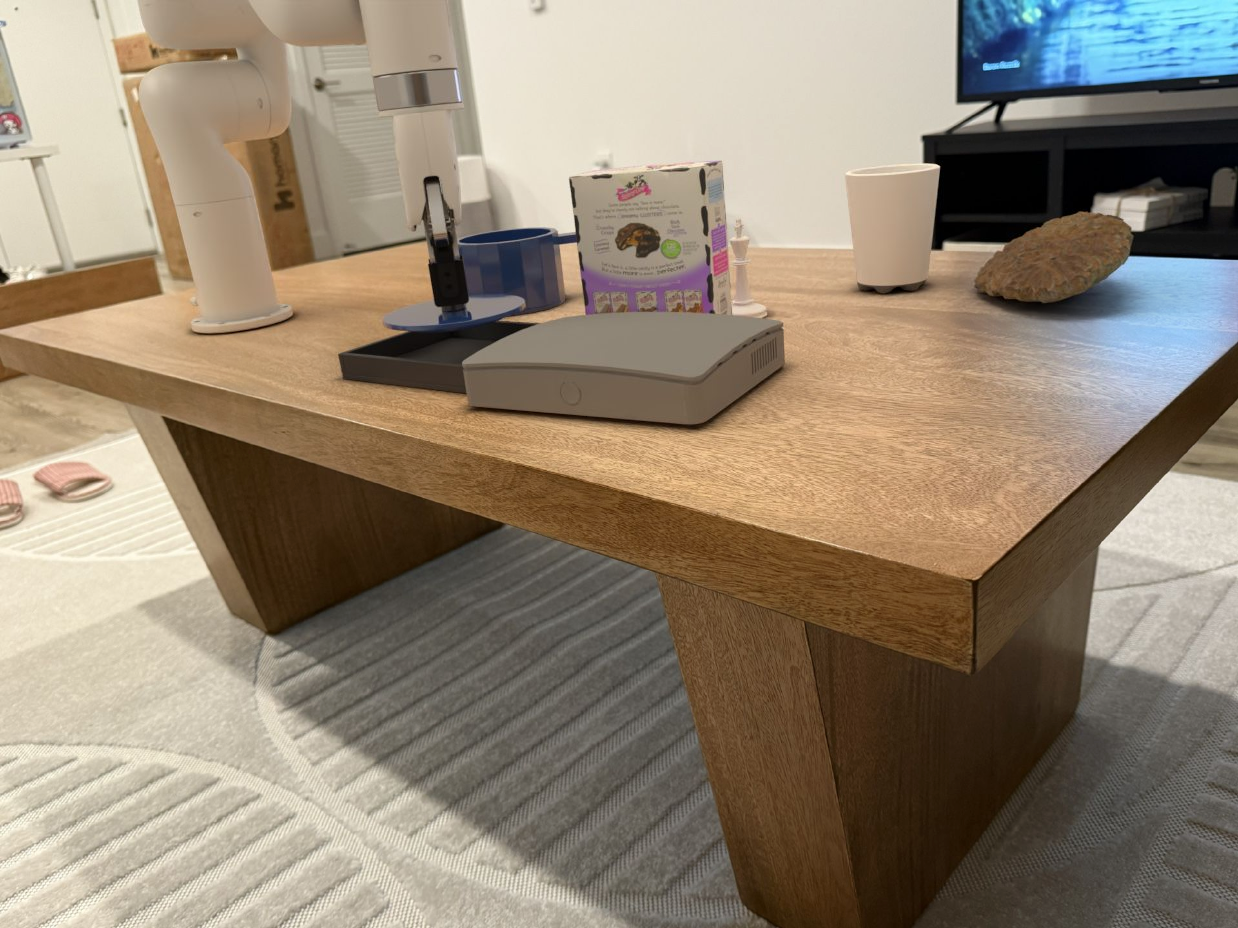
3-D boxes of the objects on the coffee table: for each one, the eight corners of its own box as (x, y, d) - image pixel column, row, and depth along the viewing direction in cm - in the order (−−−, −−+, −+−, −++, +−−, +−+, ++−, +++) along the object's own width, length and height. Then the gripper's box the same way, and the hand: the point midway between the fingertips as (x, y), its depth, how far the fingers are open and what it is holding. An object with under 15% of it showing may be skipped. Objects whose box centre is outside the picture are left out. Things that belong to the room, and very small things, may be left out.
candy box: (735, 330, 98) (725, 158, 92) (715, 345, 93) (703, 164, 87) (610, 329, 104) (594, 167, 98) (585, 343, 99) (566, 174, 93)
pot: (441, 305, 126) (430, 238, 123) (579, 287, 129) (572, 221, 126) (441, 325, 115) (429, 251, 112) (593, 305, 117) (585, 232, 114)
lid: (387, 316, 100) (376, 256, 98) (521, 299, 101) (512, 239, 99) (380, 345, 87) (367, 276, 85) (532, 324, 89) (523, 256, 87)
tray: (342, 378, 95) (337, 353, 94) (452, 340, 106) (449, 317, 106) (472, 394, 85) (468, 366, 84) (578, 350, 97) (575, 325, 96)
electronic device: (585, 350, 96) (579, 299, 95) (796, 360, 85) (794, 303, 84) (462, 409, 81) (453, 350, 79) (700, 430, 70) (695, 362, 68)
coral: (990, 260, 109) (1105, 162, 99) (1045, 323, 108) (1167, 230, 98) (925, 299, 96) (1051, 189, 85) (988, 371, 94) (1123, 268, 84)
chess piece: (714, 321, 102) (708, 224, 99) (727, 311, 107) (722, 216, 103) (760, 321, 100) (755, 221, 97) (772, 310, 105) (768, 214, 101)
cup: (950, 291, 105) (952, 167, 100) (857, 300, 105) (855, 177, 101) (924, 275, 114) (925, 161, 110) (839, 283, 115) (836, 170, 110)
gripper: (381, 102, 94) (414, 293, 101) (370, 99, 79) (410, 323, 86) (459, 94, 95) (487, 283, 102) (463, 89, 80) (496, 312, 87)
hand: (451, 300), depth 94 cm, fingers closed on lid, 2 cm apart
